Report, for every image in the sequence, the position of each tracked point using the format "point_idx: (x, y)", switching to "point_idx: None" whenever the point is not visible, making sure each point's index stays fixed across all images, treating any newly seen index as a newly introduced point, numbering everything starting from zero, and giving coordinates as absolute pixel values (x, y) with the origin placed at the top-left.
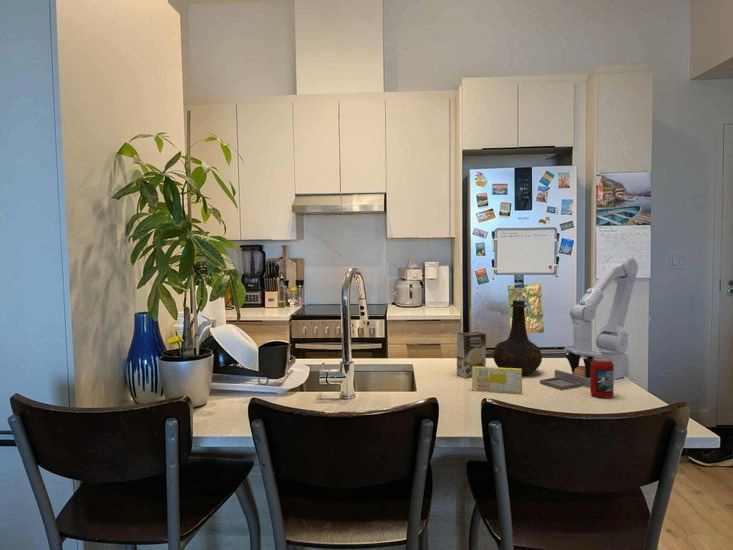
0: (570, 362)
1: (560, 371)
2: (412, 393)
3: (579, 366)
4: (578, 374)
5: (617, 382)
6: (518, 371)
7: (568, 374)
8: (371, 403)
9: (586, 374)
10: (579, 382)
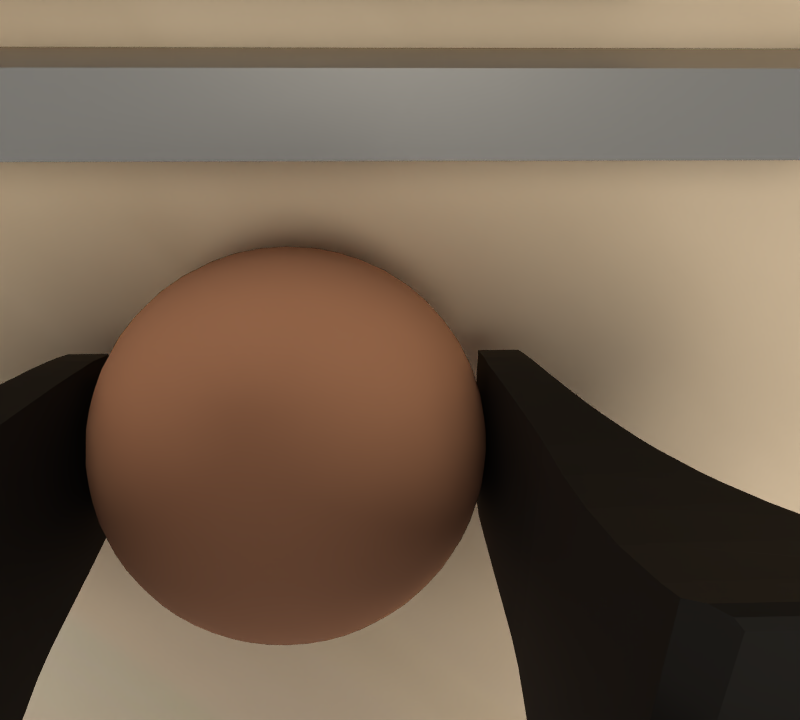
0: (638, 480)
1: (738, 74)
2: None
3: (306, 510)
4: (213, 269)
5: (29, 712)
6: None
7: (400, 66)
8: None
9: (40, 379)
10: (29, 54)
